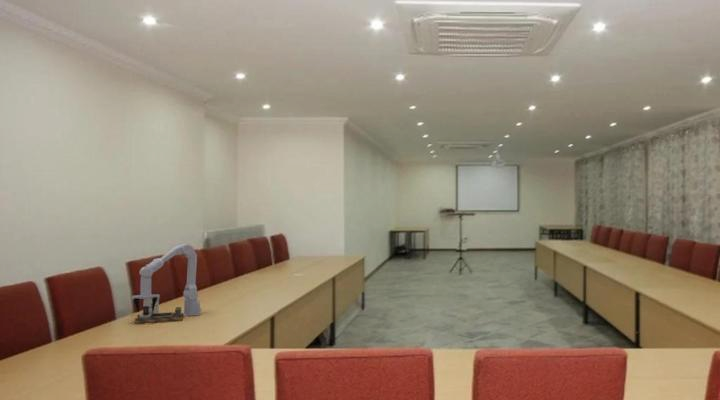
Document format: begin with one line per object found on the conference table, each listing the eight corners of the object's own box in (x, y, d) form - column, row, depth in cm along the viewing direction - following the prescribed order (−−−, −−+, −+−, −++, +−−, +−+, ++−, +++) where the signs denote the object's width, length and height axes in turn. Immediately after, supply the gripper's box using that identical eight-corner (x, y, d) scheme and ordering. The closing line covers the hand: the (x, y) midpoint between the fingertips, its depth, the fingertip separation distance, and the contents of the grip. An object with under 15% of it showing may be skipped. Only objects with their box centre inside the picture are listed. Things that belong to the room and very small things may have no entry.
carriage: (153, 316, 267) (153, 304, 267) (152, 319, 261) (152, 307, 261) (141, 317, 265) (141, 305, 265) (139, 320, 259) (139, 308, 259)
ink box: (150, 316, 274) (150, 297, 274) (142, 316, 275) (142, 296, 275) (159, 313, 282) (159, 294, 282) (152, 313, 283) (152, 294, 283)
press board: (183, 315, 275) (183, 305, 275) (182, 320, 263) (182, 310, 263) (138, 319, 267) (138, 309, 267) (134, 324, 255) (134, 313, 255)
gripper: (131, 289, 257) (130, 313, 257) (158, 288, 262) (158, 311, 261) (133, 287, 264) (132, 310, 263) (160, 286, 268) (159, 309, 268)
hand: (145, 311), depth 263 cm, fingers open, 7 cm apart
